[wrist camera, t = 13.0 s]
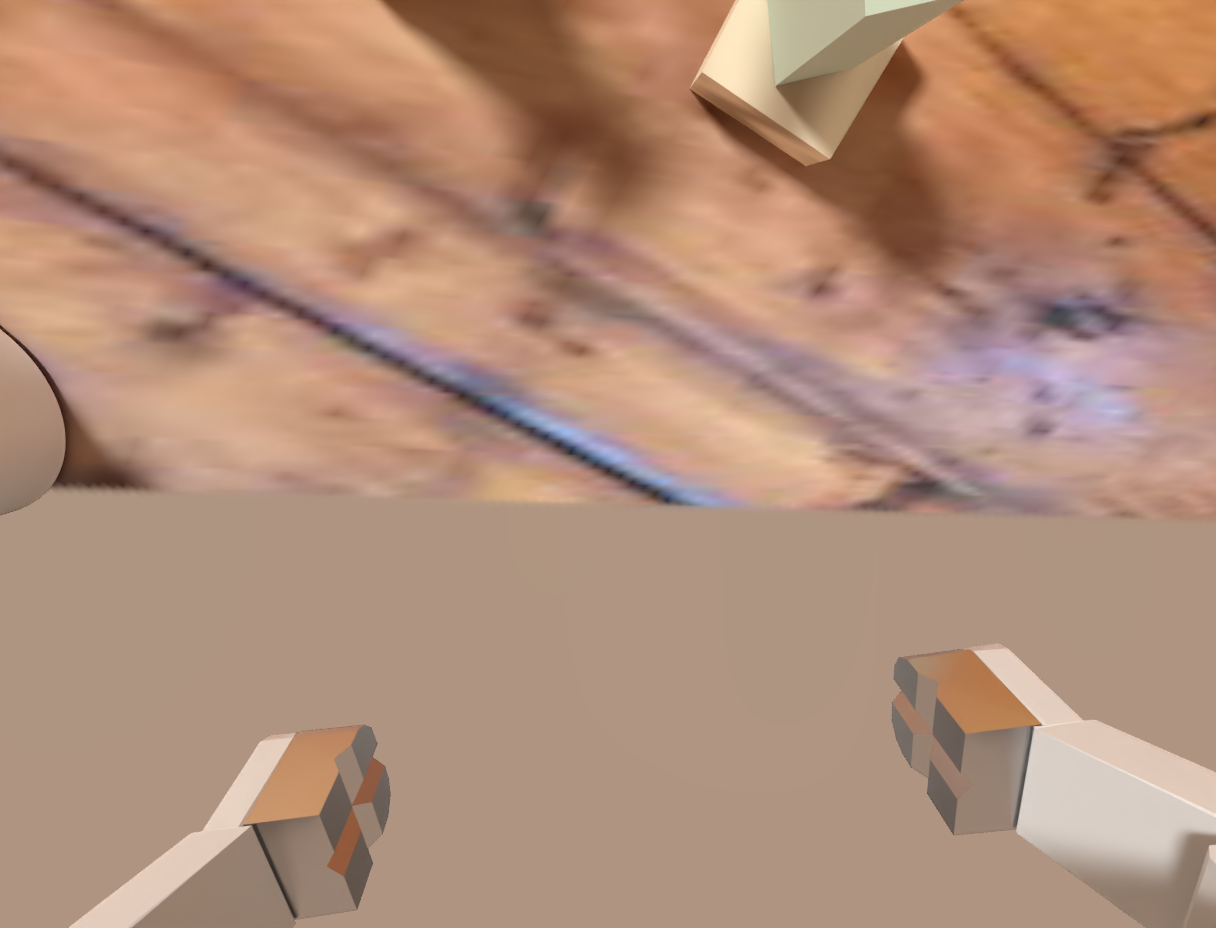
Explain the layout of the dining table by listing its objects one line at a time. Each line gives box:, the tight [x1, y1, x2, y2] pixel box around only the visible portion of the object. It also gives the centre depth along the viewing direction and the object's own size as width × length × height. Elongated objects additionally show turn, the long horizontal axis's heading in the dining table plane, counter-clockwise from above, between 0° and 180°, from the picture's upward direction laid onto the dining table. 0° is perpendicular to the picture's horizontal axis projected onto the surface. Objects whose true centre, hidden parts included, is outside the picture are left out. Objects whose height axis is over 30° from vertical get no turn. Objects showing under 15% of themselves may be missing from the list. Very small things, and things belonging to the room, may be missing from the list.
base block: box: [690, 0, 904, 166], centre depth 32 cm, size 8×8×4 cm
